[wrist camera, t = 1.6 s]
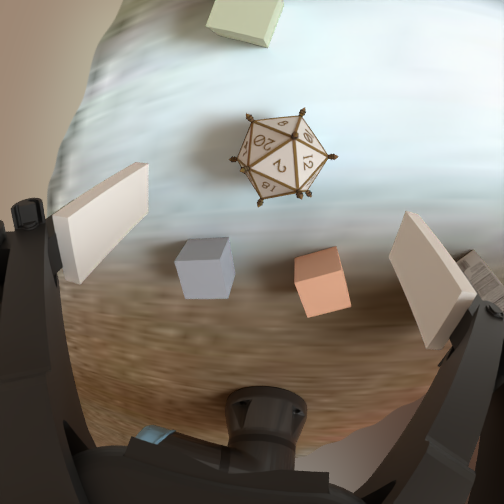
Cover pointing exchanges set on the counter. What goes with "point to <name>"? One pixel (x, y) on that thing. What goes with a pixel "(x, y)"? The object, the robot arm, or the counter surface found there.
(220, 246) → the slate cube
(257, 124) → the game die
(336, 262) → the terracotta cube
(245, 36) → the sage cube
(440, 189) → the counter surface
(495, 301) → the coffee box
